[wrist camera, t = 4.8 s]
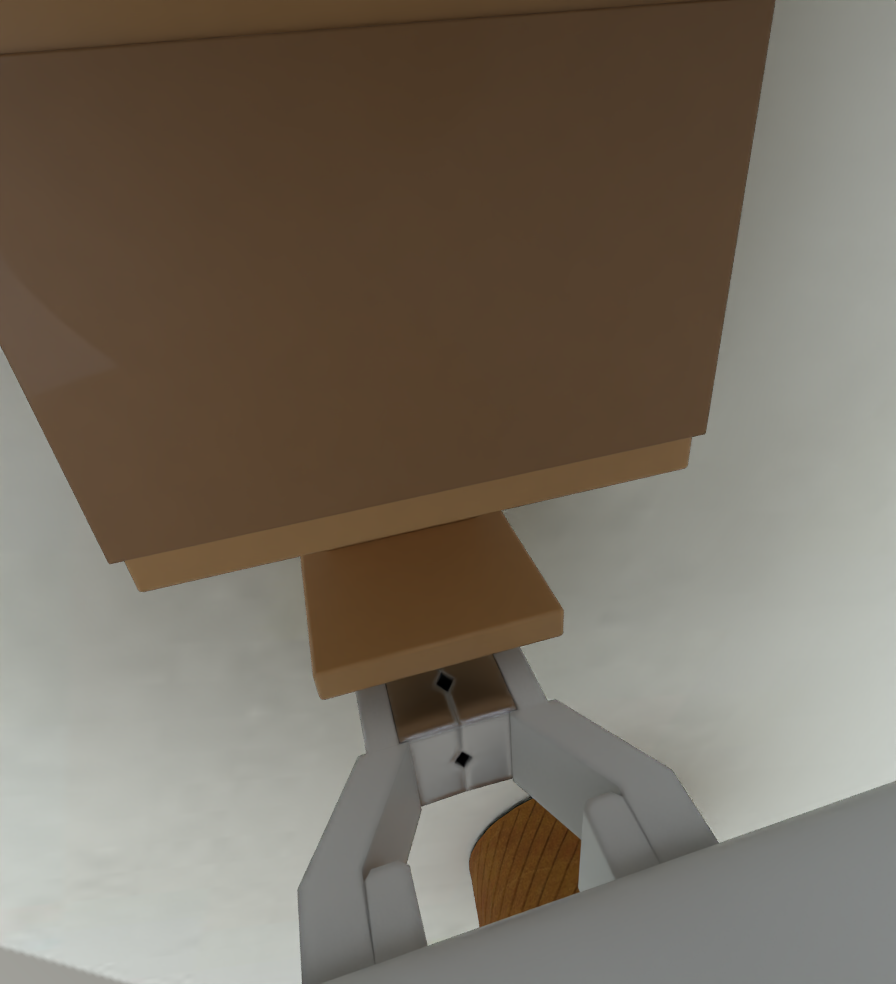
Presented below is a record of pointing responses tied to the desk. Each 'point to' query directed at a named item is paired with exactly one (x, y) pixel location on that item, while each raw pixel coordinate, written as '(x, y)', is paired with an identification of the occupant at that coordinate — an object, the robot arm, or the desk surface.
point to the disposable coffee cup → (523, 863)
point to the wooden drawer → (369, 284)
